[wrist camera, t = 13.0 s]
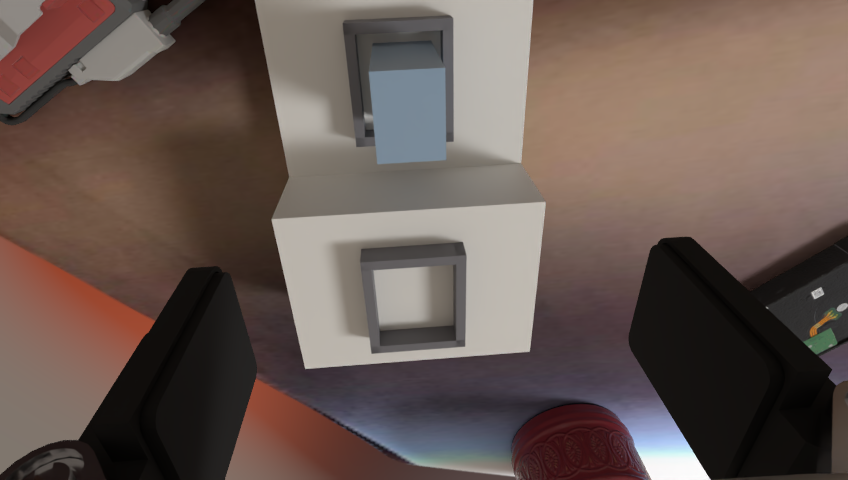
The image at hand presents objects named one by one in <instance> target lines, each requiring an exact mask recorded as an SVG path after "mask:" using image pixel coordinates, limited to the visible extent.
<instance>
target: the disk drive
mask: <svg viewBox="0 0 848 480" xmlns="http://www.w3.org/2000/svg"><path fill="white" fill-rule="evenodd" d="M750 293H751V294H752V295H753V296H754V297H756V298H757V299H758V300H759V301H760V302H761V303H762V304H763V305H764V306H765V307H766V308H767V309H768V310H769V311H770V312H772V313H773V314H774V315H775V316H776V317H777V318H778V319H779V320H780V321H781V322H782V323H783V324H784V325H785V326H786V327H788V328H789V329H790V330H791V331H792V332H793V333H794V334H795V335H796V336H797V337H798V338H799V339H800V340H801V341H802V342H803V343H805V344H806V345H807V346H808V347H809V348H810V349H811V350H812V351H813V352H814V353H815V354H816V355H817V356H818V357H819V356H821V355H823V354H825V353H827V352H829V351H831V350H833V349H835V348H838V347H839V346H841V345H843V344H845V343H847V342H848V236H847V237H845V238H844V239H842V240H840V241H838V242H837V243H835V244H834V245H833V246H831V247H829V248H827V249H825V250H823V251H822V252H820V253H818V254H816V255H815V256H813V257H811V258H809V259H808V260H806V261H804V262H802V263H800V264H799V265H797V266H795V267H794V268H792V269H790V270H788V271H786V272H785V273H783V274H781V275H779V276H777V277H776V278H774V279H772V280H771V281H769V282H767V283H765V284H763V285H762V286H760V287H758V288H756V289H755V290H753V291H751V292H750Z"/></svg>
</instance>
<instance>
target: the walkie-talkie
mask: <svg viewBox="0 0 848 480" xmlns="http://www.w3.org/2000/svg"><path fill="white" fill-rule="evenodd" d="M204 1H205V0H173V1H172V2H170V3H169V4H168V5H167V6H166V5H162V6H160V7H159V8H158V9H157V10H156V11H154V12H153V13H151V12H150V11H149V10H147V8H148V0H0V121H1V122H3V123H5V124H8V125H17V124H19V123H22V122H24V121H26V120H27V119H29V118H30V117H31V116H32V115H33V114H34V113H36V112H37V111H38V110H39V109H40V108H41V107H42V106H44V105H45V104H46V103H47V102H48V101H49V100H51V99H52V98H53V97H54V96H55V95H56V94H58V93H59V92H60V91H62V90H63V89H64V88H65V87H67V86H74V85H76V84H79V85H83V84H85V83H87V82H89V81H91V80H106V81H119V80H121V79H123V78H125V77H127V76H129V75H131V74H132V73H134V72H135V71H136V70H137V69H139V68H140V67H141V66H142V65H144V64H145V63H146V62H147V61H149V60H150V59H151V58H152V57H153V56H155V55H156V54H157V53H159V52H161V51H163V50H165V49H168V48H169V47H170V46H171V45H172V44H173V43H175V42H176V41H175V40H174V38H173V37H172V36H171V35H170V33H171V32H173V31H174V30H175V29H176V28H177V27H179V26H180V25H181V22H180V21H181V20H182V19H184V18H185V17H186V16H187V15H188V14H190V13H191V12H192V11H193V10H194V9H196V8H197V7H198V6H199V5H200V4H202V3H203V2H204ZM70 74H72V76H71V75H70ZM70 76H71V77H72V78H69V79H65V78H68V77H70ZM24 110H25V111H24ZM21 111H24V112H23V113H22V114H21V115H19V116H18V117H12V116H10V115H9V114H14V115H15V114H17V113H19V112H21Z"/></svg>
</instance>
